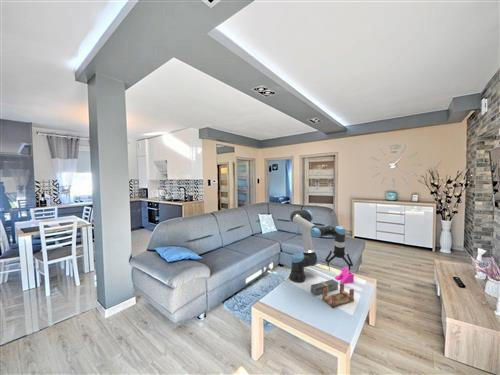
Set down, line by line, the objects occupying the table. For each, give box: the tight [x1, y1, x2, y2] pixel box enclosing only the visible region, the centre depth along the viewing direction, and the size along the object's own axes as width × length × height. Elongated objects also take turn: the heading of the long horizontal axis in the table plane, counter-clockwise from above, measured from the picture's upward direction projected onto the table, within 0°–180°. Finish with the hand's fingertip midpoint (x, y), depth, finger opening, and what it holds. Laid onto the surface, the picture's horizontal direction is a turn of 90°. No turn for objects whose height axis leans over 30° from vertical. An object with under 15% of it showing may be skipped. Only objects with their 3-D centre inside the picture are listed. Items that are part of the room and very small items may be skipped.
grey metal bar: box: [310, 279, 339, 297], centre depth 179 cm, size 24×6×6 cm, turn 113°
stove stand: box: [321, 282, 355, 309], centre depth 165 cm, size 11×22×10 cm, turn 113°
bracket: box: [334, 266, 355, 285], centre depth 196 cm, size 12×10×10 cm
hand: (338, 271), depth 168 cm, fingers open, 13 cm apart
